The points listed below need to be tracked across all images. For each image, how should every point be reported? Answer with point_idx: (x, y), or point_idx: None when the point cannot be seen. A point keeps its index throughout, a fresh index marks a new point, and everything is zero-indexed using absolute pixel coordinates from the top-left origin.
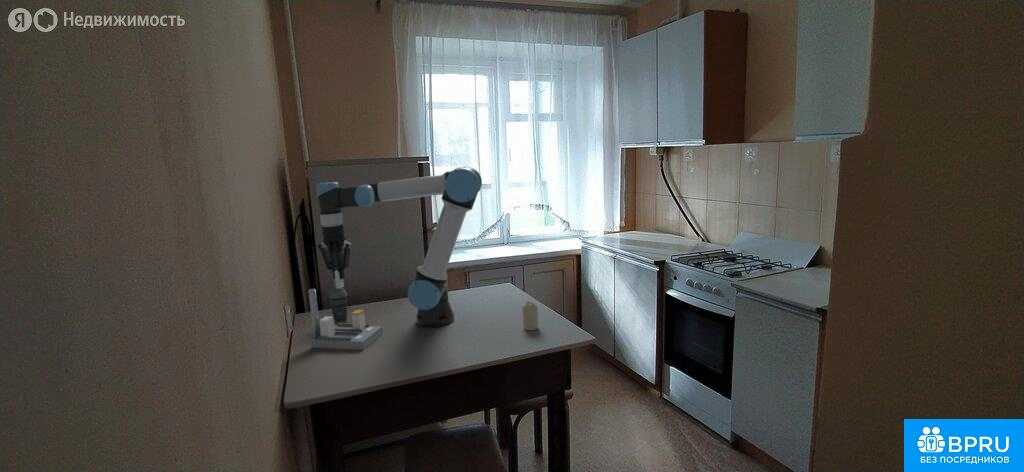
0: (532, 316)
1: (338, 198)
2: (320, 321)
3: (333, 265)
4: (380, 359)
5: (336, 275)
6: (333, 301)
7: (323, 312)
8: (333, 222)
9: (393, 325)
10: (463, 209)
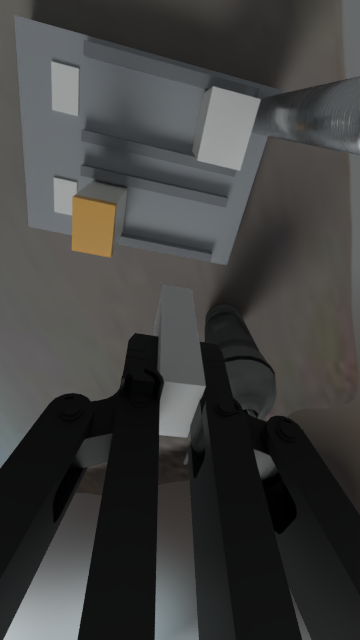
0: None
1: None
2: (252, 98)
3: (219, 453)
4: None
5: (184, 351)
6: (248, 352)
7: (296, 403)
8: None
9: (41, 290)
10: None
